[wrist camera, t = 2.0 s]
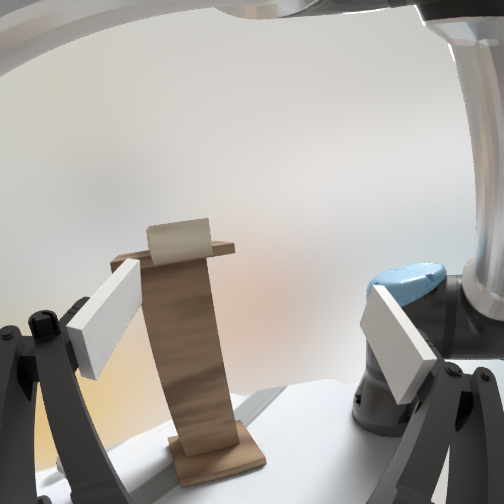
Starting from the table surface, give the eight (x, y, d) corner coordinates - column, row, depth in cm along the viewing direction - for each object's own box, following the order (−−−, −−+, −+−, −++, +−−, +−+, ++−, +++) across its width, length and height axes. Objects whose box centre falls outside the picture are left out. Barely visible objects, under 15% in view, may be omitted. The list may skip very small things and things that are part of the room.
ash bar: (213, 255, 20) (208, 217, 19) (154, 264, 18) (148, 226, 18) (178, 244, 38) (175, 226, 38) (148, 249, 37) (146, 230, 36)
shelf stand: (266, 463, 32) (234, 242, 28) (181, 487, 28) (110, 262, 24) (241, 426, 41) (210, 240, 38) (170, 444, 37) (118, 255, 34)
